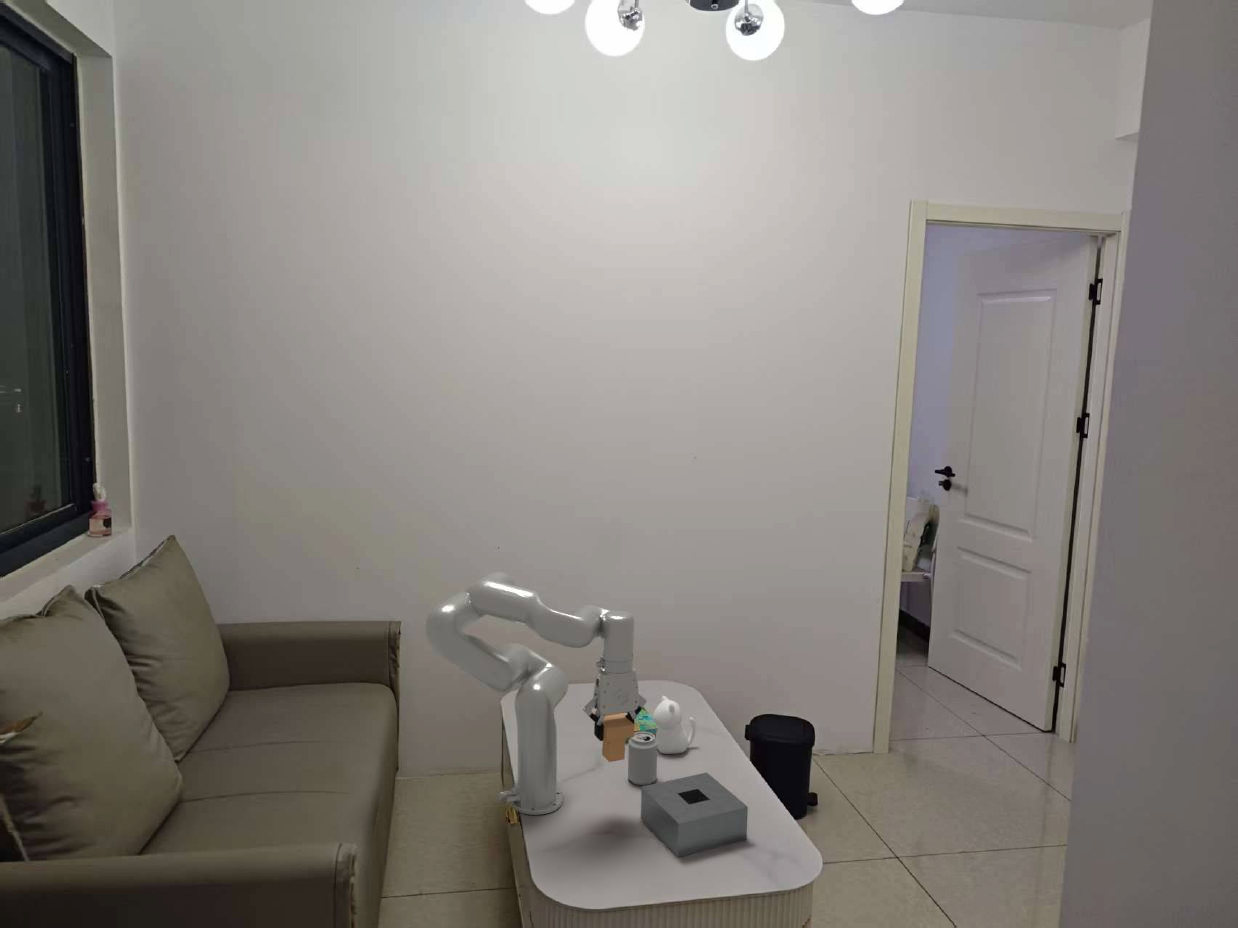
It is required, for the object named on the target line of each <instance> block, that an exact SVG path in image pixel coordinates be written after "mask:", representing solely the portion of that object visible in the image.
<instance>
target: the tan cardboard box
mask: <svg viewBox="0 0 1238 928" xmlns="http://www.w3.org/2000/svg"><path fill="white" fill-rule="evenodd" d="M602 724H603V725H604V734H603V738H604V740H603V741H602V747H601V748H602V750H601V754H602V756H603V757H604V758H605V759H606V760H607V761H608V763H613V762H617V761H623V760H625V757H626V755H625V754H626V742H625V738H630V737H634V724H633V723H632V722H631V721H630V720H628V719H627V718H626V717H625V716H624V715H623V714H622V713H621V714H614V715H608V716H605V718H604V720H603V722H602Z"/></svg>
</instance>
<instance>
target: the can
mask: <svg viewBox="0 0 1238 928" xmlns="http://www.w3.org/2000/svg"><path fill="white" fill-rule="evenodd" d="M627 753H628V755H627V757H628V758H627V759H628V760H627V762H628V763H627V778H628V780H629V781H631V783H633V784H635V785H637V786H647V785H652V784H653V782H655V781H656V780H657V777H658V775H657V772H658V771H657V770H658V769H657V768H658V749H657V741H656V738H655V736H654V735H653V734H652V733H649V732H636V733H634V737H631V739H630V740H629V742H628V752H627Z"/></svg>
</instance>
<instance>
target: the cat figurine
mask: <svg viewBox="0 0 1238 928" xmlns="http://www.w3.org/2000/svg"><path fill="white" fill-rule="evenodd" d="M660 700H661V701H660V703H658V705H656V706H657V707H656V708H655V710H654V712H653V715H652V718H653V721H654V723H655V724H656V725H657V726H658V727H659V728H658V729H657V732H656V738H655V739H656V741H657V751H659V752H660V753H661V754H664V755H674V754H681V753H684V752H685V751H687V749H688V747H689V746H691V745H692V743H693V742H694V738H695V735H696V729H697V725H696V721H695V719H694V718H693V717H692V716H691V717H690V718H689V726H690V732H689V734H688V735H689V736H688V735H687V732H686V730H685V728H684V727H683V725H682V724H681V723H682V720H683V714H682V713H683V712H682V708H681V707H680V705H679V703H677V702H676V701H674V700H671V699H669V698H668V697H667V696H665V695H661V699H660Z"/></svg>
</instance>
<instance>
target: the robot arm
mask: <svg viewBox="0 0 1238 928" xmlns="http://www.w3.org/2000/svg"><path fill="white" fill-rule="evenodd" d="M484 616H491V617H495V618H497V619H501V620H505V621H508V622H512V623H515V624H517V625H522V626H525V627H527V629H529V630H530V631H531V632H533V634H535V635H537V636H538V637H540V638H541V639H543V640H545V641H548V642H551V643H553V644H556V645H561V646H563V647H564V646H565V647H568V648H573V649H582V648H585V647H587V646H589V645H590V644H592V642H593V641H594V640H595V639H597V638H600V639H601V640H600V641H601V643H600V645H601V646H600V647H601V648H600V650H601V651H600V657H599V660H598V661H595V667H596V668H598V670H597V673H596V676H595V682H594V689H593V697H592V698H591V700H589V702H588V703H586V705H584V706H583V708H582V711H583V712H584V713H585V714H586V715H587V716H588V718H590V719H591V720H592V721H593V722H594V724H593V725H594V726H593V727H594V728H593V729H594V731H593V733H594V736H595V737H596V738H597V740H598V741H599V742H603V740H604V738H603V734H604V725H603V724H602V722H603V720H604V718H605V716H608V715H614V714H621V713H627V715H626V716H625V717H626V718H627V719H628V720H630V721H631V722H632V723H633V724H634V719H636V718H637V715H638V713H639V712H640V711H641V709H642V708H643V707H645V705H646V703H647V699H646V698H644V697H643V696H642V695H641V694H639V680H638V674H637V670H636V668H634V667H633V665H634V663H633V662H634V660H633V659H634V643H635V642H634V640H635V639H634V638H635V617H634V616H633V614H632V613H631V612H629V611H624V610H618V609H617V610H615V609H614V610H612V609H611V610H610V609H607V608H604V607H601V606H597V605H593V604H588V605H583V606H582V607H580V608H579V609H578V610H577V611H576V612H574V614H566V613H563V612H560V611H557V610H554V609H552V608H549V607H548V606H546V605H545V604H544V603H543V601H542V599H541V595H540V594H539V592H537V591H536V590H533V589H529V588H526V587H521V586H518V585H516V582H515V581H514V579H513V578H512V576H511V575H510V574H507V572H503V571H493V572H491V573H489V574H487V575H485V576H484V577H482V578H480V579H478V580H477V581H476V582H475V583H473V584H471V585H470V586H468V587H466V588H465V589H463V590H461V591H459V592H457V593H455V594H454V595H452V596H451V597H448V598H447V599H445V600H444V601H441V602H440V603H439V604H437V605H435V607H433V609H432V610H431V611H430V612H429V613H428V615H427V617H426V620H425V626H424V627H425V630H424V631H425V635H426V639H427V641H428V643H429V646H430V647H431V648H432V649H433V650H434V652H435V653H436V654H438V655H439V656H440V657H441V658H443V659H445V660H446V661H448V662H450V663H452V664H453V665H455V666H456V667H458V668H460V669H461V670H463V671H464V672H465V673H467V674H468V675H469V676H471V677H472V678H473V679H475V680H477V681H478V682H480V683H481V684H483V685H484V686H485V687H487V688H489V689H491V690H492V691H494V692H495V693H499V694H503V693H504V694H505V693H507V692H509V691H511V690H512V689H513V688H514V687H516V686H517V685H518V684H519V685H520V687H519V688H518V690H517V692H516V694H515V698H514V712H515V718H516V726H517V727H516V728H517V731H516V732H517V733H516V734H517V739H516V740H517V741H516V742H517V782H516V783H513V788H512V787H511V788H510V790H503V791H499V792H498V794H497V796H498V800H499V801H500V802H501V801H505V800H506V804H511V807H513V810H515V811H517V812H519V813H521V814H525V815H528V816H529V815H532V816H539V815H540V816H541V815H547V814H549V813H553V812H555V811H556V810H558V809H559V808H560V807H561V806H562V804H563V801H564V800H563V794H562V793H561V791H559V790H558V789H557V770H558V769H557V765H558V764H557V763H558V762H557V758H558V757H557V756H558V755H557V754H558V753H557V752H558V750H557V749H558V744H557V743H558V742H557V741H558V737H557V736H558V734H557V724H556V718H555V710H556V708H557V707H558V705H559V704H560V703H561V702H562V700H564V698H565V697H566V695H567V693H568V691H569V681H568V678H567V676H566V674H565V672H564V671H563V670H562V669H561V668H559V667H558V666H557V665H555V664H554V663H553V662H551V661H549V660H548V659H546V658H545V657H543V656H541V655H540V654H539V653H537V652H536V651H534V650H532V649H531V648H529V647H527V646H526V645H523V644H520V643H516V642H515V643H514V642H513V643H508V644H505V645H503V646H501V647H500V648H495V647H494V646H492V645H491V644H488V642H486V641H484V640H483V639H482V638H479V637H477V636H474V635H472V634H468V633H466V632H464V631H463V630H464V629H466V628H467V627H469V626H470V625H472V624H473V623H475V622H476V621H478V620H480V619H481V618H484ZM593 709H595V710H596V711H595V712H593Z"/></svg>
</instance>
